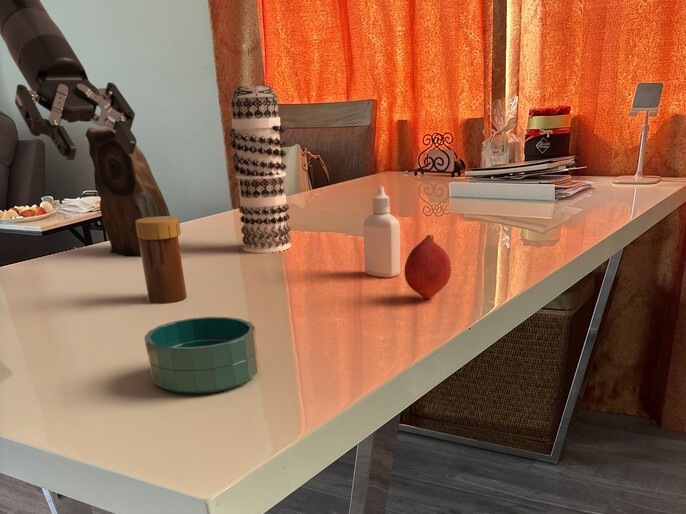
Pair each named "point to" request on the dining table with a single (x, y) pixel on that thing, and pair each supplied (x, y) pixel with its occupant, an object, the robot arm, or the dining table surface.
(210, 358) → the bowl
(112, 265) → the dining table surface
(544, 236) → the dining table surface
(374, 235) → the eye dropper bottle
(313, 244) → the dining table surface
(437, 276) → the onion
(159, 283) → the jar
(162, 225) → the lid
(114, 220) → the owl
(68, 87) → the robot arm
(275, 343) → the dining table surface
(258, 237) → the decorative candle
